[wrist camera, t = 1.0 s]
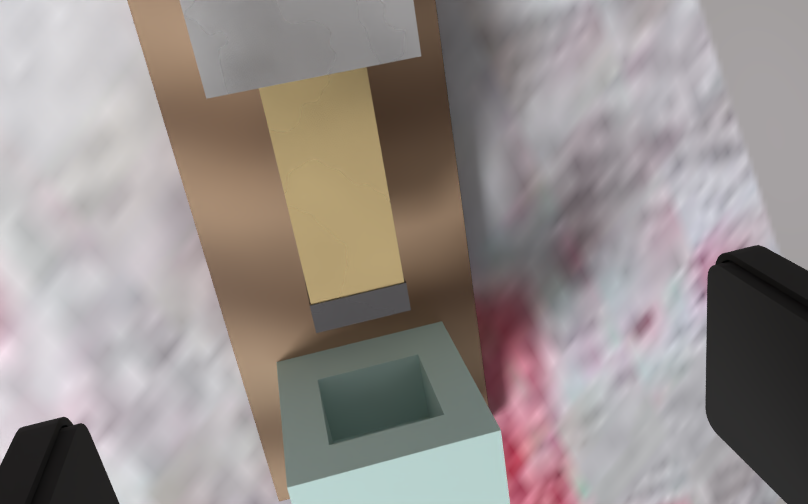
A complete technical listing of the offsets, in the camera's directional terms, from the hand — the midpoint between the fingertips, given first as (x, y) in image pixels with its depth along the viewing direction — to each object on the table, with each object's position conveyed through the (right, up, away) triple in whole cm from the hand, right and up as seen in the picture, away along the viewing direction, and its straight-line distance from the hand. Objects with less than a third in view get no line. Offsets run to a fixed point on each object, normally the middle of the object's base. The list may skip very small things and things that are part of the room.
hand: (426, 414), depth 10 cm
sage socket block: (-2, -3, +20) cm, 20 cm away
